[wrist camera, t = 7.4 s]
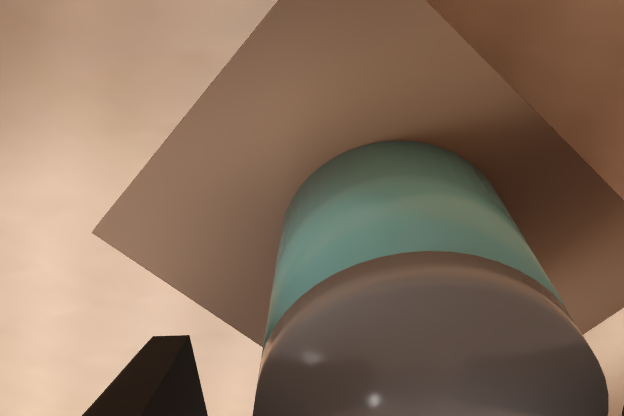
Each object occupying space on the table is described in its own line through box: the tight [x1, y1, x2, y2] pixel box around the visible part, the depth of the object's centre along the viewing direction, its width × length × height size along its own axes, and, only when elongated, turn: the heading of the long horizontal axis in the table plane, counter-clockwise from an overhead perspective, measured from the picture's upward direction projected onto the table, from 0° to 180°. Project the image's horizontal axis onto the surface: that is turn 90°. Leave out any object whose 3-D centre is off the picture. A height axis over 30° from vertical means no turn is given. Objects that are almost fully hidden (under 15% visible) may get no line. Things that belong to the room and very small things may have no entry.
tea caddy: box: [253, 140, 608, 416], centre depth 10 cm, size 5×5×5 cm
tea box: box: [92, 0, 624, 347], centre depth 14 cm, size 10×8×4 cm
